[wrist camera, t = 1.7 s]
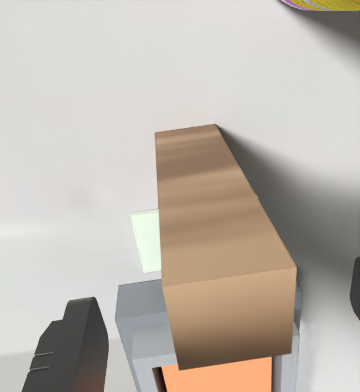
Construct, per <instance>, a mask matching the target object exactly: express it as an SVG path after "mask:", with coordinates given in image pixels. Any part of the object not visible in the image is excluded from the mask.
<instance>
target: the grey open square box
mask: <svg viewBox="0 0 360 392" xmlns="http://www.w3.org/2000/svg"><path fill="white" fill-rule="evenodd" d="M301 300H302V290H301V288H300V287H299V285H298V283H297V281H296V289H295V306H294V322H293V338H292V354H286V355H280V356H273V357H272V368H271V392H295V391H296V378H297V365H298V352H299V339H300V334H299V327H300V313H301ZM115 322H116V325H117V328H118V331H119V334H120V338H121V341H122V344H123V347H124V350H125V354H126V356H127V360H128V363H129V366H130V369H131V373H132V376H133V379H134V382H135V385H136V389H137V392H167V388H166V384H165V380H164V375H163V371H162V367H161V366H168V365H174V364H178V363H177V358H176V353H175V348H174V343H173V338H172V333H171V328H170V323H169V318H168V313H167V308H166V303H165V298H164V293H163V288H162V279H160V280H154V281H147V282H140V283H133V284H127V285H120V286H118V295H117V305H116V314H115Z"/></svg>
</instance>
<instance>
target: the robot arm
mask: <svg viewBox="0 0 360 392" xmlns="http://www.w3.org/2000/svg"><path fill="white" fill-rule="evenodd" d="M350 300H351V305H352V308H353V310H354V312H355V314H356V315H357V317H358V318H359V320H360V257H358V258H356V260H355V264H354V270H353V277H352V284H351V290H350ZM108 349H109V342H108V334H107V330H106V327H105V324H104V321H103V318H102V315H101V312H100V309H99V306H98V303H97V300H96V298H95V297H89V298H82V299H76V300H70V301H69V302H68V303H67V306H66V309H65V313H64V316H63V320H57V321H52V322H51V324H50V325H49V326H48V328H47V329H46V330H45V332H44V333H43V334H42V335H41V337H40V339H39V342H38V345H37V348H36V351H35V357H34V358H33V360H32V363H31V366H30V372H29V373H28V375H27V378H26V381H25V384H24V386H23V390H22V392H104V384H105V376H106V368H107V359H108V351H109V350H108Z"/></svg>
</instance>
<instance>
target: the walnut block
mask: <svg viewBox="0 0 360 392" xmlns="http://www.w3.org/2000/svg"><path fill="white" fill-rule="evenodd" d="M155 146H156V167H157V188H158V209H159V230H160V251H161V272H162V288H163V293H164V298H165V303H166V308H167V313H168V318H169V323H170V328H171V333H172V338H173V343H174V348H175V353H176V358H177V363H178V368H179V371H181V370H188V369H194V368H201V367H207V366H214V365H221V364H227V363H234V362H240V361H247V360H254V359H260V358H267V357H273V356H280V355H286V354H292V338H293V322H294V306H295V289H296V273H297V267H296V265H295V263H294V261H293V259H292V258H291V256H290V254H289V252H288V251H287V249H286V247H285V245H284V244H283V242H282V240H281V238H280V237H279V235H278V233H277V231H276V230H275V228H274V226H273V224H272V223H271V221H270V219H269V217H268V216H267V214H266V212H265V210H264V209H263V207H262V205H261V203H260V202H259V200H258V198H257V196H256V195H255V193H254V191H253V189H252V188H251V186H250V184H249V182H248V181H247V179H246V177H245V175H244V174H243V172H242V170H241V168H240V167H239V165H238V163H237V161H236V160H235V158H234V156H233V154H232V153H231V151H230V149H229V147H228V146H227V144H226V142H225V140H224V139H223V137H222V135H221V133H220V132H219V130H218V128H217V126H216V125H215V124H212V125H205V126H198V127H191V128H184V129H177V130H170V131H163V132H157V133H155Z"/></svg>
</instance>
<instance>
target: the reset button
mask: <svg viewBox="0 0 360 392" xmlns="http://www.w3.org/2000/svg"><path fill="white" fill-rule="evenodd" d="M161 367H162V371H163V375H164V380H165V384H166V388H167V392H271V368H272V357H267V358H260V359H254V360H247V361H240V362H234V363H227V364H221V365H214V366H207V367H201V368H194V369H188V370H181V371H179V368H178V364H174V365H168V366H161Z"/></svg>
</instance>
